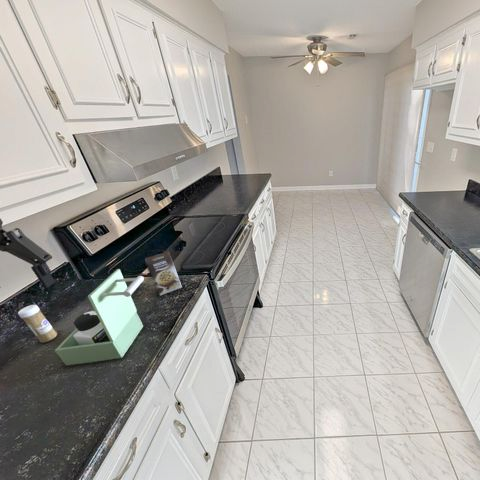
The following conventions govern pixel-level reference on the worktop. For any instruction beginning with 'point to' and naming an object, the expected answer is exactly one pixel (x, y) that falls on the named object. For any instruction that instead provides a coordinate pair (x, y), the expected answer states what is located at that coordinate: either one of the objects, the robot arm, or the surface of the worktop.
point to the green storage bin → (99, 346)
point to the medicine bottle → (89, 329)
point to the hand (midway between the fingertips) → (22, 287)
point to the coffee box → (163, 273)
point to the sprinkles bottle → (37, 323)
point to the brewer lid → (114, 302)
